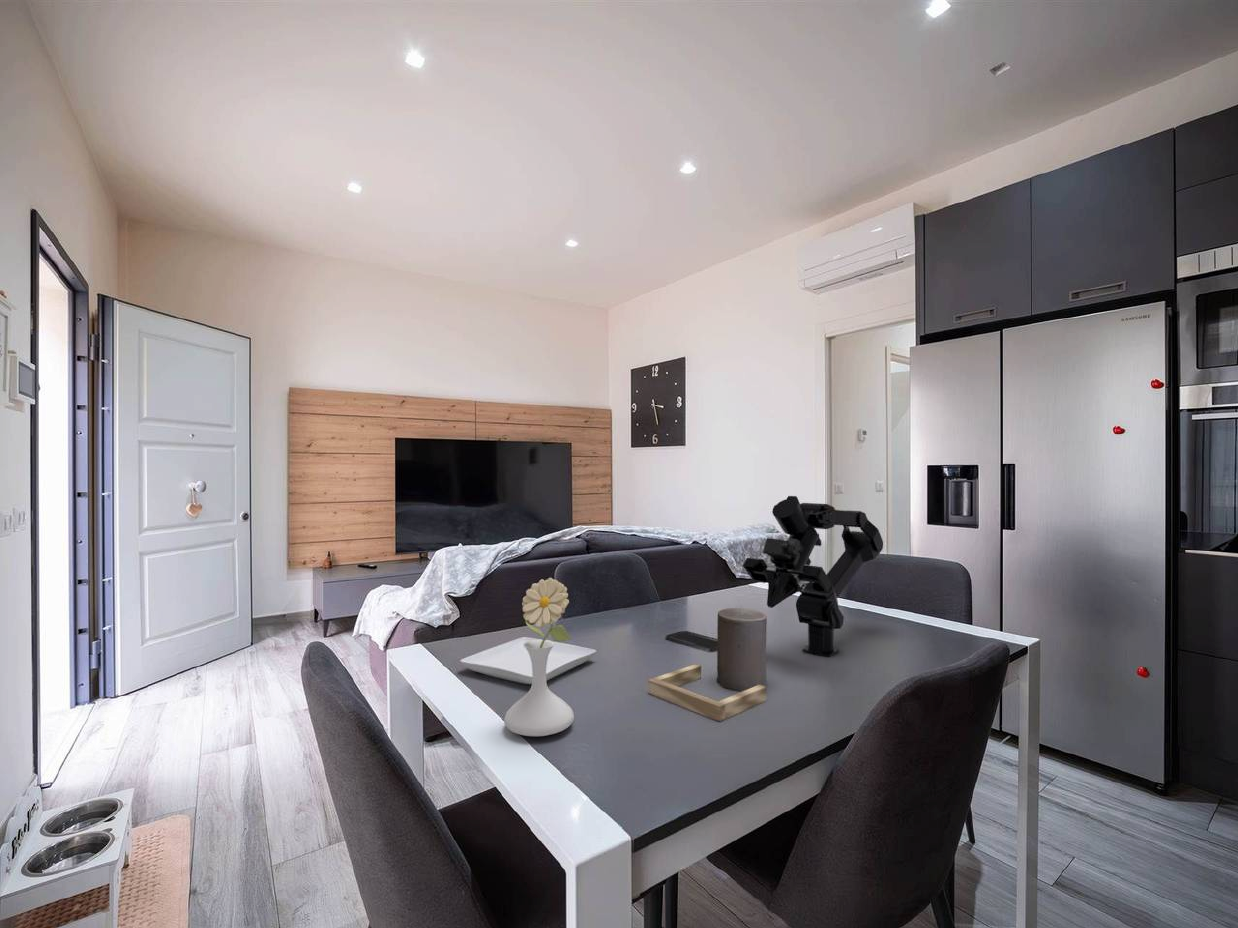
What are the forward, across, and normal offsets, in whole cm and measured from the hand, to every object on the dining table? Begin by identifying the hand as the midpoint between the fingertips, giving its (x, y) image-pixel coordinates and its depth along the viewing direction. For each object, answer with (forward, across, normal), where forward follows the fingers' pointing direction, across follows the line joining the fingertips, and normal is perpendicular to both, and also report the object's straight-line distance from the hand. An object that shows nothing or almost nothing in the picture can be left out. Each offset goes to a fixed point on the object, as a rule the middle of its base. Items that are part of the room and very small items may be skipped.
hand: (769, 606), depth 125 cm
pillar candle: (+16, 0, +3) cm, 17 cm away
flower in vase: (+46, -9, -26) cm, 53 cm away
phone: (+7, -24, +13) cm, 28 cm away
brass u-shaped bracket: (+23, 0, -4) cm, 24 cm away
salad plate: (+35, -36, -15) cm, 53 cm away
